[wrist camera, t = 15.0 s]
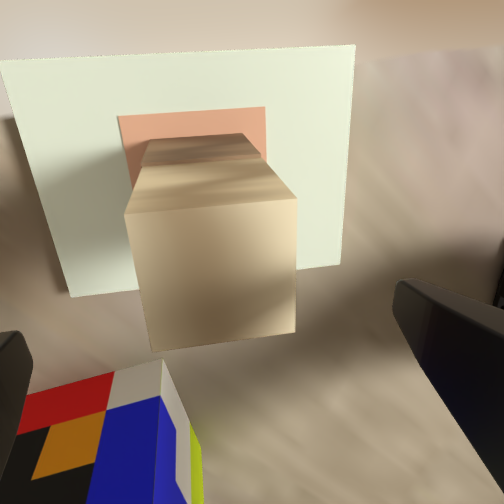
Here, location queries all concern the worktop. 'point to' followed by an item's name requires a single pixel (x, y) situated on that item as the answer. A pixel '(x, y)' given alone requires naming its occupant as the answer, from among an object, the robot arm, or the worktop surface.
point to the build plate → (178, 125)
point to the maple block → (213, 252)
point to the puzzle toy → (106, 443)
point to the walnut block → (198, 149)
